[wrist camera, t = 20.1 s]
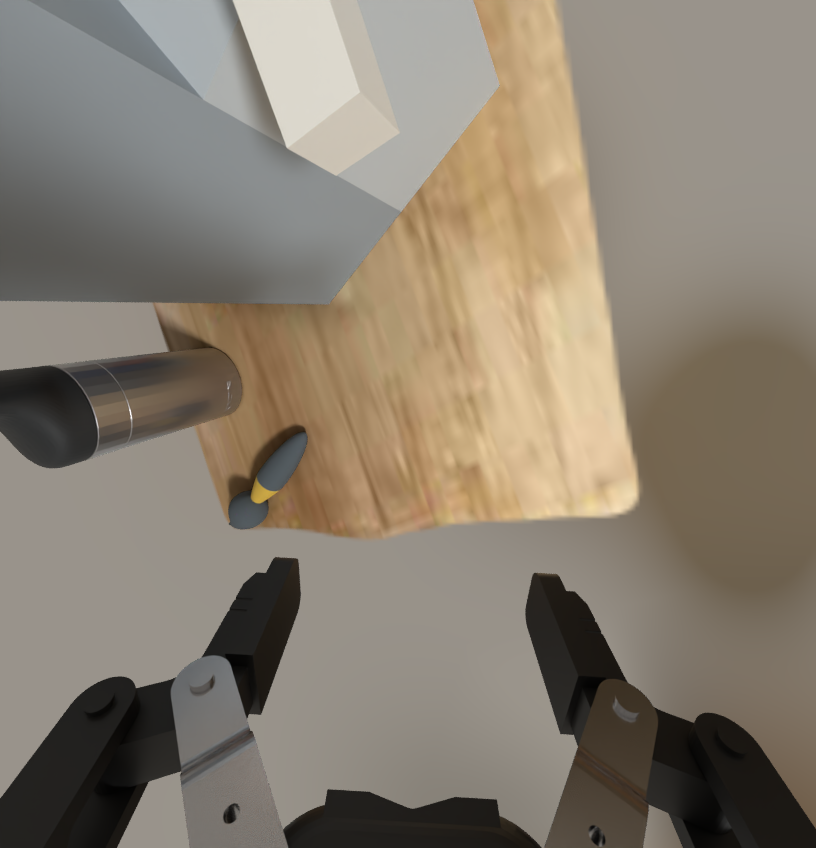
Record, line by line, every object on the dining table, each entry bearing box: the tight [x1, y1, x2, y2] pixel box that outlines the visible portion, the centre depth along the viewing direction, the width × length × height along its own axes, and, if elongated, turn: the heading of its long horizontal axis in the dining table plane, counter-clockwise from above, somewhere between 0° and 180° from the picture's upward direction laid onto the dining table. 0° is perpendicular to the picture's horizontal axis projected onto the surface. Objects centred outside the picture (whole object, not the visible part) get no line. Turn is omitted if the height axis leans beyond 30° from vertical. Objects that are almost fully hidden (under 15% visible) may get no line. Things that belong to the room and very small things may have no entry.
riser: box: [0, 0, 500, 304], centre depth 23 cm, size 16×24×31 cm, turn 134°
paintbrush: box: [228, 432, 307, 529], centre depth 50 cm, size 20×5×5 cm, turn 146°
